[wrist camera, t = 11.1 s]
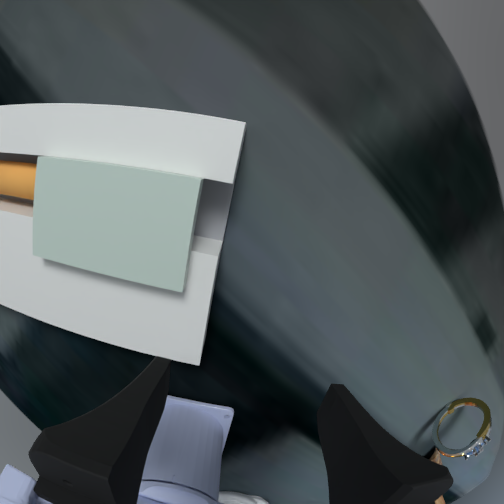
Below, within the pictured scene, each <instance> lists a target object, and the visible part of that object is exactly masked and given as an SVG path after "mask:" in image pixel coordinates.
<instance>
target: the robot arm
mask: <svg viewBox="0 0 504 504" xmlns="http://www.w3.org/2000/svg"><path fill="white" fill-rule="evenodd" d="M170 365H171V359H168V358H164V357H159V356H157V357H155V358H154V359H153V360H152V362H151V363H150V364H149V365H148V366H147V367H146V368H145V369H144V370H143V371H142V372H141V373H140V374H139V375H138V376H137V377H136V378H135V379H134V380H133V381H132V382H131V383H130V384H129V385H128V386H126V387H125V388H124V389H123V390H122V391H120V392H119V393H118V394H117V395H115V396H114V397H113V398H111V399H110V400H108V401H107V402H105V403H104V404H102V405H101V406H99V407H97V408H95V409H94V410H92V411H90V412H88V413H86V414H84V415H82V416H80V417H77V418H75V419H73V420H70V421H68V422H65V423H62V424H59V425H56V426H52V427H49V428H45V429H44V430H43V431H42V432H41V434H40V435H39V436H38V438H37V439H36V441H35V442H34V444H33V446H32V448H31V449H30V451H29V458H30V460H31V462H32V464H33V465H34V467H35V469H36V470H37V472H38V474H39V475H40V476H39V478H38V481H35V480H34V479H33V478H32V477H30V476H29V475H27V474H25V473H24V472H22V471H20V470H18V469H16V468H15V467H13V466H11V465H10V464H7V465H6V466H5V468H4V470H3V472H2V473H1V475H0V504H224V503H220V502H218V498H219V484H220V471H221V458H222V452H223V449H224V446H225V442H226V439H227V435H228V432H229V428H230V425H231V421H232V418H233V414H234V410H233V409H232V408H231V407H226V406H220V405H214V404H208V403H203V402H198V401H193V400H188V399H183V398H178V397H174V396H169V395H168V391H169V377H170ZM317 425H318V434H319V438H320V443H321V447H322V452H323V456H324V460H325V465H326V469H327V475H328V485H329V502H330V504H436V503H435V501H436V500H437V499H438V498H439V497H441V496H442V495H443V494H444V493H445V492H446V491H447V490H448V489H449V488H450V487H451V486H452V484H453V478H452V476H451V474H450V472H449V470H448V468H447V467H445V466H443V465H440V464H438V463H435V462H433V461H431V460H429V459H427V458H425V457H423V456H421V455H419V454H417V453H415V452H414V451H412V450H411V449H409V448H408V447H406V446H405V445H403V444H402V443H400V442H399V441H398V440H396V439H395V438H394V437H393V436H391V435H390V434H389V433H388V432H387V431H386V430H384V429H383V428H382V427H381V426H380V425H379V424H378V423H377V422H376V421H375V420H374V419H373V418H372V417H371V416H370V414H369V413H368V412H367V411H366V410H365V409H364V408H363V407H362V406H361V404H360V403H359V402H358V401H357V400H356V399H355V397H354V396H353V395H352V394H351V393H350V391H349V390H348V389H347V388H346V387H345V386H344V385H343V384H331V385H330V387H329V389H328V391H327V394H326V396H325V398H324V400H323V402H322V404H321V406H320V407H319V409H318V411H317Z"/></svg>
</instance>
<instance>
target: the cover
mask: <svg viewBox="0 0 504 504" xmlns="http://www.w3.org/2000/svg"><path fill="white" fill-rule="evenodd" d="M203 180H204V178H199V177H193V176H188V175H182V174H176V173H170V172H164V171H158V170H152V169H145V168H139V167H132V166H125V165H118V164H111V163H103V162H95V161H87V160H79V159H70V158H61V157H51V156H40V157H38V159H37V167H36V177H35V188H34V203H33V255H34V256H38V257H41V258H45V259H48V260H52V261H55V262H59V263H63V264H66V265H70V266H74V267H78V268H81V269H85V270H89V271H93V272H97V273H101V274H105V275H109V276H113V277H117V278H121V279H125V280H129V281H133V282H138V283H142V284H146V285H151V286H155V287H159V288H164V289H168V290H173V291H178V292H183V290H184V288H185V286H186V280H187V274H188V267H189V261H190V254H191V248H192V242H193V236H194V230H195V224H196V218H197V213H198V207H199V202H200V196H201V191H202V186H203Z"/></svg>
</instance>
